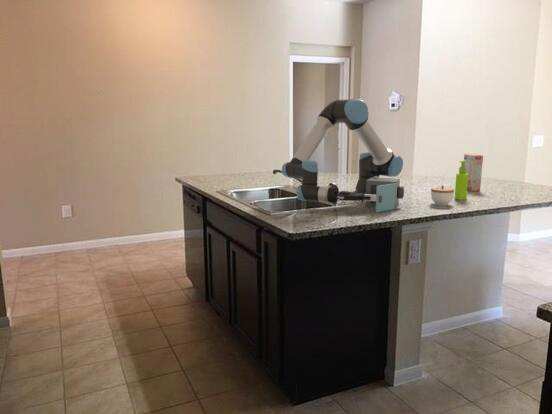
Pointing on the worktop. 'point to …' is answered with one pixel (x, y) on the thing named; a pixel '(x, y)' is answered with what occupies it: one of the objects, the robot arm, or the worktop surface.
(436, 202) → the lidded jar
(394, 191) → the side door
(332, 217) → the worktop surface
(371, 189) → the small grey cabinet
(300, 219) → the worktop surface
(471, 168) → the cracker box
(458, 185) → the soap dispenser
